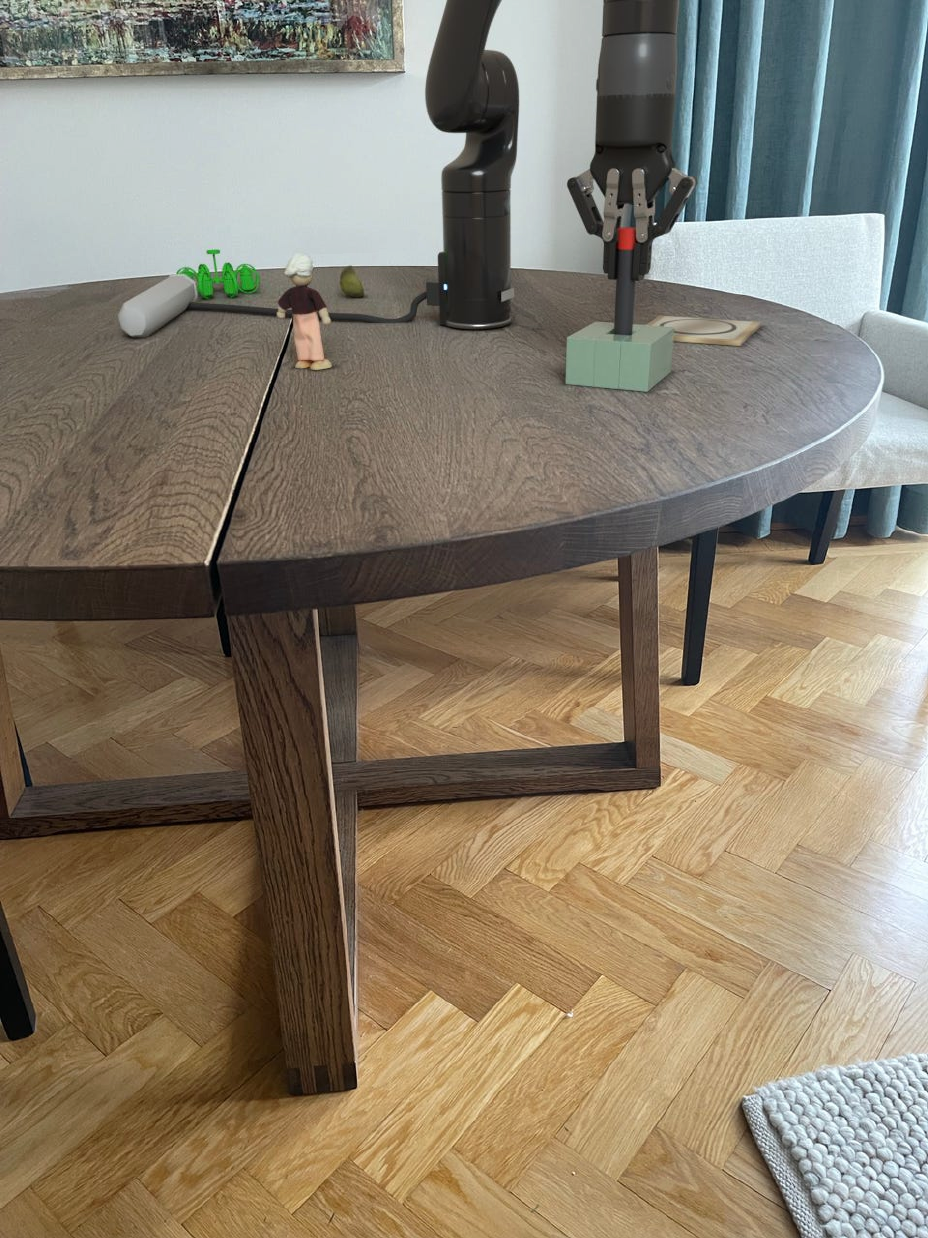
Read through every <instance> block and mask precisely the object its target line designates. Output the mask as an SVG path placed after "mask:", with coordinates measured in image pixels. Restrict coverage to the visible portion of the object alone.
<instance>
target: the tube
mask: <svg viewBox="0 0 928 1238" xmlns="http://www.w3.org/2000/svg"><path fill="white" fill-rule="evenodd" d="M197 285H198V283H197V281H195V279H194V280H193V279H191V278H190V277H188V276H187V275H185V274H176V273H170V274H169V276H168V277H167V278H165V279H163V280H161V281H160V282H158V283H156V284H155V285H153V286H151V287H150V288H148V289H146V290H143V292H141V293H139V294H137V295H136V296H134V297H132V298H130V299H129V300H127V301H125V302H124V303H122V306H121V308H120V310H119V312H118V313H117V320H118V325H119V330H120V331H122V332H123V333H125V334H127V335H128V336H129V337H131V338H133V339H145V338H149V337H150V336H151V335H152V334H154V333H155V332H157V331H158V330H160V329H161V328H162V327H164V326H165V325H167V324H168V323H170V321H172V320H173V319H175V318H176V317H177V316H179V315H180V314H181V313H183V312H184V311H186V310H188V309H187V306H188V305H189V303H196V301H197V299H198V297H199V291H197Z"/></svg>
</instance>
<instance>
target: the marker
mask: <svg viewBox="0 0 928 1238" xmlns="http://www.w3.org/2000/svg"><path fill="white" fill-rule="evenodd" d="M636 242H637V239H636V226H624V227H622V226H621V228H619V229H618V258H617V278H616V280H615V299H614V300H615V301H614V321H613V323H614V334H615V335H628V336H631V335H632V331H633V324H634V313H635V311H634V310H635V295H636V281H633V280H632V273H633V255H634V243H636Z"/></svg>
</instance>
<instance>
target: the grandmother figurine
mask: <svg viewBox="0 0 928 1238" xmlns="http://www.w3.org/2000/svg"><path fill="white" fill-rule="evenodd" d="M313 263H314V262H313V259H312V258H311V257H310V256H309V255H308V254H307V253H306V254H305V253H296V254H294V255H293V256H292V257H291V258H290V259H289V260H288V261H287V263H286V266H285V269H284V272H283V274H284V276H285V277H288V278H289V279H290V281H291V282H292V284H293V285H295V286H292V287H290V288H288V289H287V290H286V291H285V292H284V293H283V294H282V295H281V296H280V298H279V299H278V300H277V304H278V306H277V309H278V312H277V315H276V317H277V318H278V319H279V320H284V319H285V318H286V316H285V312H286V311H287V310H292V315H293V317H292V327H293V328H292V329H293V339H294V340H293V341H294V345H295V346H294V347H295V351H296V359H297V362H296V363H295V366H294V368H295V369H307V368H309V369H310V370H312V371H320V370H325V369H330V368H332V367H333V364H332V362H331V361H330V360H329V359H327V358H325V354H324V353H325V352H324V348H323V343H322V342H323V341H322V336H321V335H322V334H321V325H320V319H318V315H317V312H319V315H320V317H321V318H322V319H321V323H322V325H323V326H330V325H331V323H332V320H331V319H330V318H329V314H328V313H329V311H328V307H327V305H326V303H325V301H324V300H323V297H322V296H321V294H320V292H318V291H317V290H316V289H314V288H312V287H309V285H310V284H311V283H312V281H313V277H314V274H313V268H314V267H313Z"/></svg>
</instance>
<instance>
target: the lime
mask: <svg viewBox="0 0 928 1238" xmlns="http://www.w3.org/2000/svg"><path fill="white" fill-rule="evenodd" d="M339 277H340V278H339V286H340V289H341V291H342V293H344V294H345V295H346V296H349V297H352V298H362V297H365V290H364V287H363V284H362V282H361V280H360V278H359V276H358V274H357V273H356V270H355V269H354V267H353V265H347V266H346V267H344V268H343V269H342V271H341V272H340V275H339Z"/></svg>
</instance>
